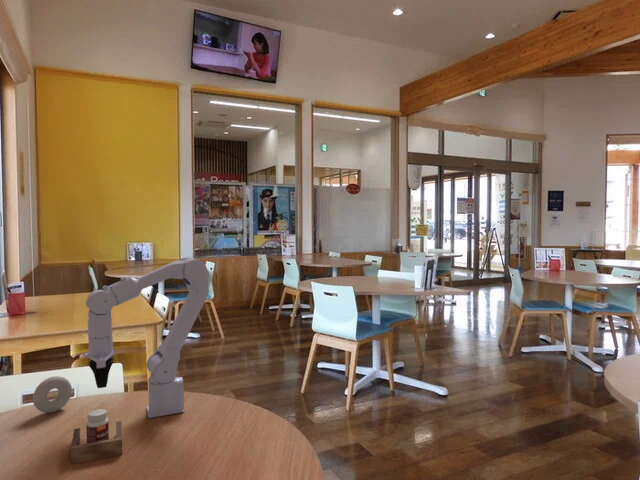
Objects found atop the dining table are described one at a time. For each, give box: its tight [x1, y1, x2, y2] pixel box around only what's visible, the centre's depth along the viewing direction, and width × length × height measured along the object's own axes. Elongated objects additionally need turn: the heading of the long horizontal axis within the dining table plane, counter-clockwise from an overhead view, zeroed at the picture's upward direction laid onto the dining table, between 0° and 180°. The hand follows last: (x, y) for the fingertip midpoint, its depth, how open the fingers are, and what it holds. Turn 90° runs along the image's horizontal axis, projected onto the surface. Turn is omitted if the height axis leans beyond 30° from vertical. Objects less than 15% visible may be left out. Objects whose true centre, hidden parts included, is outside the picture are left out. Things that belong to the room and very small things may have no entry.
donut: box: [32, 375, 73, 414], centre depth 128 cm, size 10×3×10 cm, turn 143°
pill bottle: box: [85, 408, 110, 443], centre depth 108 cm, size 5×5×8 cm
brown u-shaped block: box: [70, 420, 123, 465], centre depth 107 cm, size 10×10×4 cm
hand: (101, 386), depth 120 cm, fingers closed
